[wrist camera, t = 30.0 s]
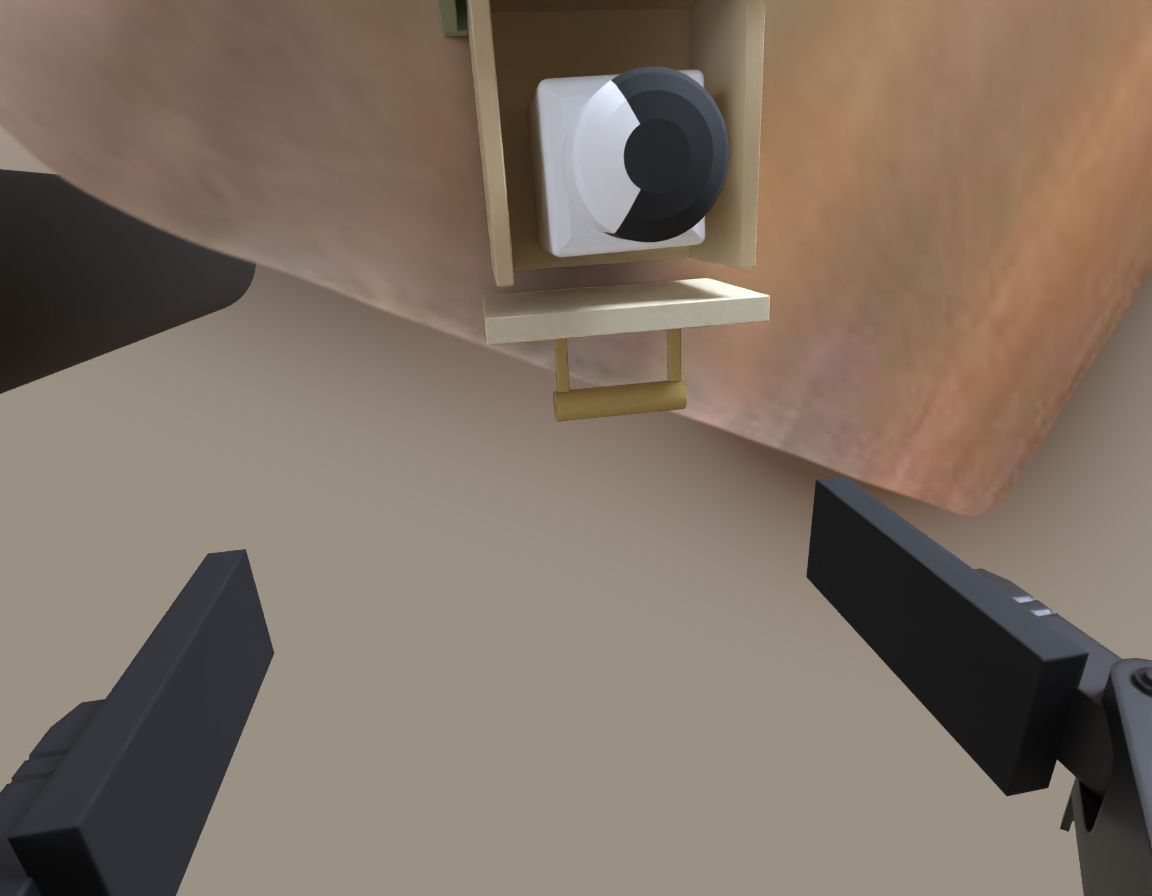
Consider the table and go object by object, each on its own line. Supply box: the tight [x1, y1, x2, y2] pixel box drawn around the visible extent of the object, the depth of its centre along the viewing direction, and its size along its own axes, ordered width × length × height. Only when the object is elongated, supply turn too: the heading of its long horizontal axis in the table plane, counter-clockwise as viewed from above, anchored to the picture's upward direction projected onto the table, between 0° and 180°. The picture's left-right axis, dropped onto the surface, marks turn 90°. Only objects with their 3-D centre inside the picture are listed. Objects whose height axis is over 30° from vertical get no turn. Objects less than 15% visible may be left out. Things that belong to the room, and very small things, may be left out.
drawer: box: [465, 0, 770, 421], centre depth 32 cm, size 20×13×9 cm, turn 4°
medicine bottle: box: [527, 66, 729, 257], centre depth 29 cm, size 7×7×12 cm
